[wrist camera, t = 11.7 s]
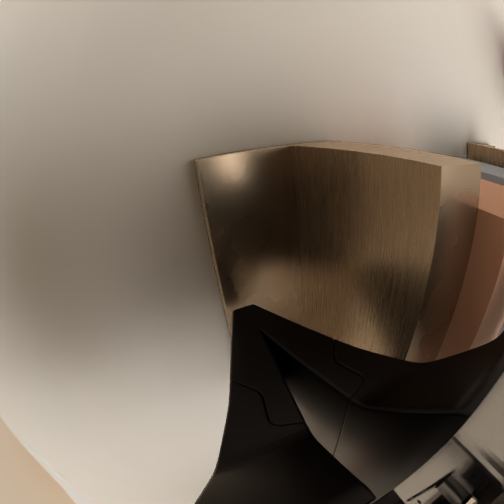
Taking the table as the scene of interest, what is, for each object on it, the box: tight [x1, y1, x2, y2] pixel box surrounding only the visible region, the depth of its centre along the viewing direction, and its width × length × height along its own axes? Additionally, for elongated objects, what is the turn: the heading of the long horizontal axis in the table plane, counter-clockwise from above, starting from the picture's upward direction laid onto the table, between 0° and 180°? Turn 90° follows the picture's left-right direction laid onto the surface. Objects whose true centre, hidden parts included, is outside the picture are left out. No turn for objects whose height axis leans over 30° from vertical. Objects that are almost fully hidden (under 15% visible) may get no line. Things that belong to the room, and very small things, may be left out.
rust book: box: [435, 179, 504, 361], centre depth 9 cm, size 8×4×7 cm, turn 6°
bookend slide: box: [194, 141, 481, 363], centre depth 8 cm, size 10×5×6 cm, turn 6°
